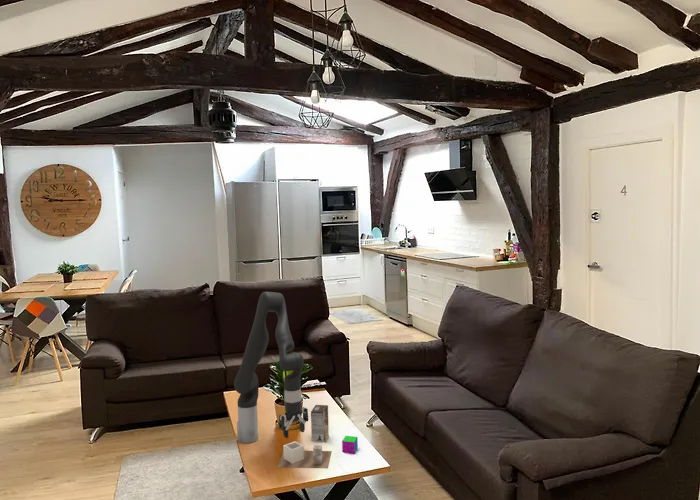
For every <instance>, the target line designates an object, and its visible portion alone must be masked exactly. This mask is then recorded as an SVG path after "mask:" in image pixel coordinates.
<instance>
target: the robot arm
mask: <svg viewBox="0 0 700 500" xmlns="http://www.w3.org/2000/svg"><path fill="white" fill-rule="evenodd" d="M287 311H288V310H287V305H286V300H285V297H284V295H283V294H282V293H281V292H276V291H274V292H273V291H263V292H262V293H261V294H260V295H259V297H258V302H257V306H256V311H255V315H254V319H253V320H254V321H253V323H252V327H251V331H250V334H249V337H248V340H247V343H246V345H245V350H244V353H243V356H242V361H241V363H240V367H239V369H238V371H237V373H236V376H235V378H234V381H233V388H234V390H235V391H236V393H238V394H240V395H239V396H238V399H237V422H236V432H237V433H236V436H237V437H236V438H237V442H238V443H239V442H240V443H241V444H251V443H255V442H256V441H258V440H259V429H258V428H259V426H258V424H259V422H258V399H259V383H260V382H259V378H258V377H259V376H258V375H257V374H256V372H255V371H256V369H257V367H258V365H259V364H260V362H261V360H262V358H263V356H264V355H265V353H266V350H267V348H268V344H269V341H270V335H269V332H268V331H269V330H268V328H267V323H266V320H267V319H266V318H267V316H268V313H276V316H277V319H278V320H277V324H276V327H275V331H274V332H275V333H274V335H275V340H276V344H277V348H278V355H279V356H278V357H279V358H278V359H279V360H278V361H279V369H281V370H282V371H283V372H291V371H292V372H291V373H289V374H287V375H285V376H284V378H283V384H284V386H283V387H284V390H283V391H284V392H283V397H284V399H283V401H284V405H285V413H284V414H283V415H282V414H279V416H278V429H280V430H282V433H283V434H282V436H283V437H284V438H285V439H288V438H289V428H290V426H292V424H293V423H296V422H298V421H299V432H301V433H305V430H306V427H305V424H306V422H308V421H309V411H308V408H307V407H305V406H303V404H302V403H303V401H302V389H301V378H302V373H303V368H304V361H305V359H304V356H303V354H302V353H300V352H295V353H289V352H291V351H293V350H294V349H295V342H294V340H293V336H292V333H291V331H290V326H289V324H290V323H289V319H288V313H287ZM287 353H288V354H287Z"/></svg>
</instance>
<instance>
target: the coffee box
mask: <svg viewBox="0 0 700 500" xmlns="http://www.w3.org/2000/svg"><path fill="white" fill-rule="evenodd" d="M310 421H311V422H310V423H311V424H310V429H311V434H310V435H311V442H319V443H324V444H326V443H327V441H328V440H329V439H328V438H329V437H330V434H329V433H330V431H329V429H330V428H329V427H330V426H329V405H326V404H315V406H314V407H313V408H312V409H311V411H310Z"/></svg>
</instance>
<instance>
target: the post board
mask: <svg viewBox="0 0 700 500" xmlns="http://www.w3.org/2000/svg"><path fill="white" fill-rule="evenodd" d="M332 452H333V451H332V450H323V445H322V444H319V445H318V444H317V445H316V444H313V448H312V450H304V459H303V460H300V461H298V462H295V463H293V464H292V463H290V462H289V461H287V460H285V459H284V450H283V452H282V454H281V457H280V458H279V461H278V464H277V466H276V468H280V469H281V468H289V469H291V468H292V469H296V468H297V469H329V465H330V462H331V458H332V457H331V456H332Z"/></svg>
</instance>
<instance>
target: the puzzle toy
mask: <svg viewBox="0 0 700 500" xmlns="http://www.w3.org/2000/svg"><path fill="white" fill-rule="evenodd" d="M358 442H359V440H358V436H352V435H345V436H344V437H343V438H342V442H341V446H342V447H341V448H342V449H341V450H342V453H344V454H351V455H355V454H356V452H357V450H358V449H359V448H358V447H359V446H358Z"/></svg>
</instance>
